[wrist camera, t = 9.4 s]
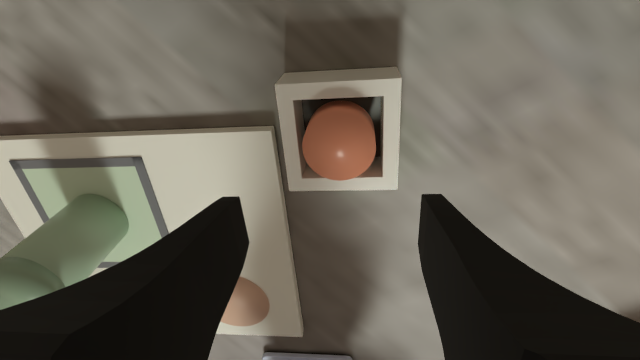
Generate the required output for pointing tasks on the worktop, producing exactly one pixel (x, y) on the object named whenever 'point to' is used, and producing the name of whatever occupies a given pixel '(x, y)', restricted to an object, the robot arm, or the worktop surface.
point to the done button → (339, 140)
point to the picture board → (169, 201)
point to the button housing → (340, 86)
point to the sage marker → (62, 249)
